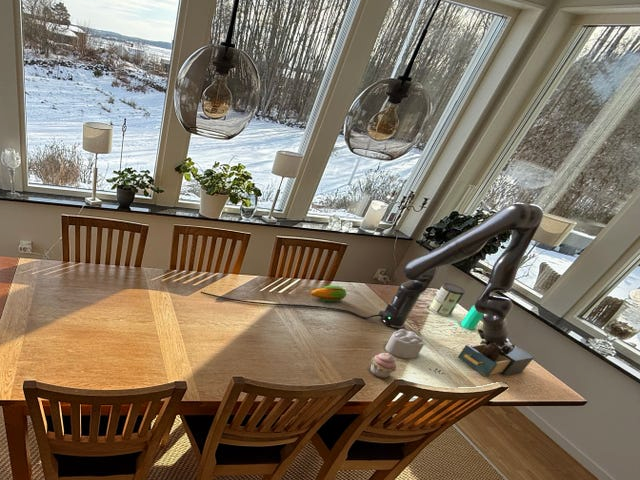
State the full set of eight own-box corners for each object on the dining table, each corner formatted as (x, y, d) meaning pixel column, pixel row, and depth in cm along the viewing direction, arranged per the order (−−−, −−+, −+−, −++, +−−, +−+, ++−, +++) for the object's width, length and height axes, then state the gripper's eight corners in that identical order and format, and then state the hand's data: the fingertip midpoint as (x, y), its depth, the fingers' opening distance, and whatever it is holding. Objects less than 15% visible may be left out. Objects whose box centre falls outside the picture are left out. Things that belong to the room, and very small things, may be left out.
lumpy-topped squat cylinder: (420, 357, 171) (430, 341, 166) (395, 358, 168) (405, 342, 163) (403, 343, 179) (412, 327, 174) (379, 344, 176) (388, 328, 171)
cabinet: (503, 376, 167) (515, 360, 163) (471, 355, 178) (482, 340, 174) (521, 372, 171) (534, 357, 167) (489, 352, 182) (500, 337, 178)
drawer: (479, 378, 162) (489, 365, 159) (451, 358, 172) (459, 345, 169) (503, 373, 168) (513, 361, 164) (475, 354, 178) (483, 342, 174)
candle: (476, 330, 198) (490, 310, 191) (463, 328, 198) (477, 307, 192) (470, 324, 203) (484, 304, 196) (458, 321, 203) (471, 301, 197)
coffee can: (440, 306, 216) (454, 283, 208) (454, 316, 208) (470, 293, 200) (424, 305, 214) (438, 282, 206) (438, 316, 206) (453, 292, 198)
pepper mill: (485, 367, 168) (506, 340, 160) (474, 359, 172) (494, 332, 164) (493, 365, 170) (515, 338, 161) (482, 358, 173) (502, 331, 165)
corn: (352, 290, 200) (317, 289, 196) (347, 303, 204) (312, 303, 200) (344, 284, 207) (309, 283, 202) (339, 297, 210) (305, 296, 206)
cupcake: (364, 362, 163) (375, 343, 157) (388, 369, 161) (399, 349, 155) (367, 376, 155) (378, 356, 149) (392, 383, 153) (405, 363, 148)
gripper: (470, 324, 163) (473, 345, 173) (504, 345, 152) (505, 366, 163) (486, 312, 161) (488, 334, 172) (522, 333, 151) (521, 354, 161)
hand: (496, 349), depth 167 cm, fingers closed on pepper mill, 5 cm apart
